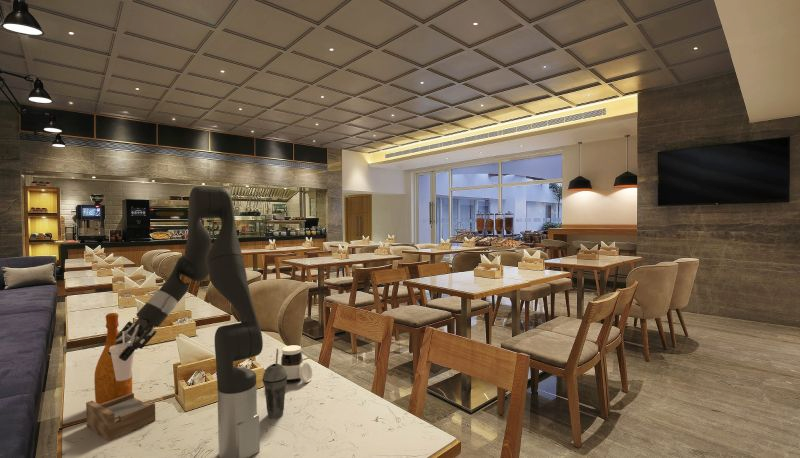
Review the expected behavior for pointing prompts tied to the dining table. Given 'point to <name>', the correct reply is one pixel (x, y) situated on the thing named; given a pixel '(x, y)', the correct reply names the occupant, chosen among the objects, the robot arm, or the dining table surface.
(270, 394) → the beverage cup
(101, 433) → the brown wooden tray
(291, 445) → the dining table surface
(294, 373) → the spread jar
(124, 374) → the smoothie
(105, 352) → the wine bottle
